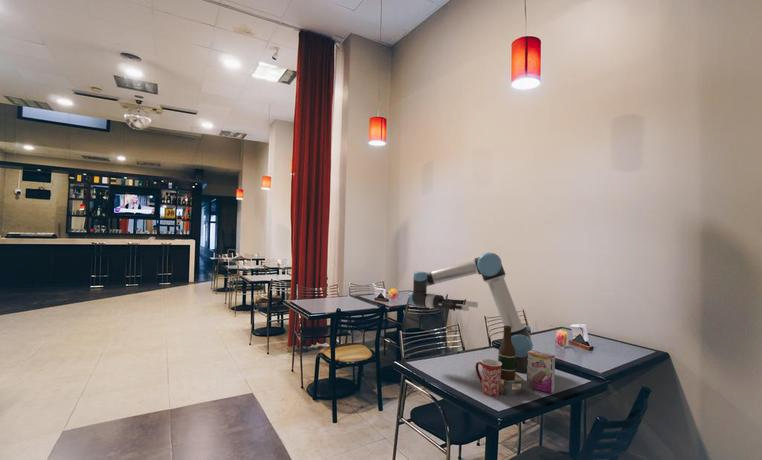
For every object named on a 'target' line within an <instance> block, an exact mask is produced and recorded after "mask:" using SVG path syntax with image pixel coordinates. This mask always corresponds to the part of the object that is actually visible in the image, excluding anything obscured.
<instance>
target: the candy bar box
mask: <svg viewBox="0 0 762 460" xmlns="http://www.w3.org/2000/svg"><path fill="white" fill-rule="evenodd" d="M555 368H556V355H554V354H550V353H546V352H542V351H537V350H533V349H532V350H530V351H528V352H527V372H526V381H533V385H532V390H533V389H534V390H536V391H537V390H538V391H541V392H545V393H547V394H551V395H552V394H553V393H554V392H555V380H556V379H555V375H556V374H555V373H556V372H555V371H556V369H555Z"/></svg>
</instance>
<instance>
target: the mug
mask: <svg viewBox="0 0 762 460" xmlns="http://www.w3.org/2000/svg"><path fill="white" fill-rule="evenodd" d="M479 365H480V366H481V374H480V370H479ZM501 366H502V363H501V362H499V361H498V359H497V360H496V359H493V358H492V359H491V358H484V359H481V360H480V361H477V362H476V363H475V373H476V376H477V377H478V380H479V382H480V384H481V392H482V393H483V394H484V395H487V396H490V397H497V396H499V395H500V391H499V388H500V377H501Z"/></svg>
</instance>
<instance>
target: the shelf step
mask: <svg viewBox="0 0 762 460" xmlns="http://www.w3.org/2000/svg"><path fill="white" fill-rule="evenodd" d="M532 385H533V381H527V380H525V379H524V378H523V377H521V376H520V375H519V374H517V373H516V372H515V379H514V381H506V380H502V379H500V388H499V393H501V394H502V395H503V396H533V388H532Z"/></svg>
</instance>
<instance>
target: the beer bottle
mask: <svg viewBox="0 0 762 460" xmlns="http://www.w3.org/2000/svg"><path fill="white" fill-rule="evenodd" d="M511 329H512V328H511V326H504V325H503V330H504V334H502V336H503V337H502V338H503V339H502V343H501V344H500V346H499V348H498V352H497V353H498V357H497V361H499V362H501V363H502V366H501V377H500V379H502V380H506V381H514V379H515V373H516V371H515V362H516V353H515V348H514V346H513V345H512V341H511Z"/></svg>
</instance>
